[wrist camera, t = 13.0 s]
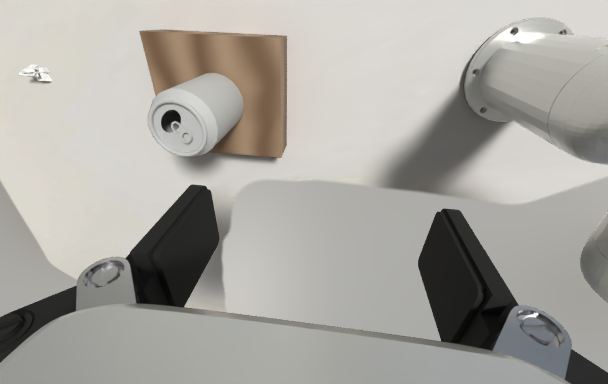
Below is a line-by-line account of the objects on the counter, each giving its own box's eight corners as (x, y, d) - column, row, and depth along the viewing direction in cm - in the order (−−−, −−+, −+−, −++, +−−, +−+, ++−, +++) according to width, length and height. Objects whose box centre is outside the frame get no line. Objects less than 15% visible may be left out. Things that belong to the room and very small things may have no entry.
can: (211, 58, 35) (159, 74, 25) (256, 100, 37) (225, 130, 27) (183, 100, 38) (128, 129, 28) (226, 136, 41) (189, 175, 31)
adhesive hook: (48, 64, 43) (29, 67, 41) (56, 81, 45) (38, 85, 42) (31, 63, 44) (11, 66, 41) (39, 80, 45) (21, 84, 43)
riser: (286, 35, 37) (279, 38, 33) (286, 145, 46) (281, 157, 42) (161, 29, 38) (139, 31, 34) (184, 136, 47) (168, 148, 43)
